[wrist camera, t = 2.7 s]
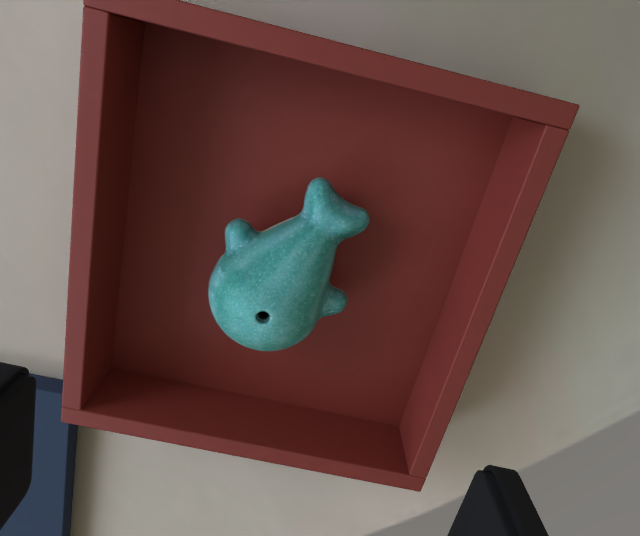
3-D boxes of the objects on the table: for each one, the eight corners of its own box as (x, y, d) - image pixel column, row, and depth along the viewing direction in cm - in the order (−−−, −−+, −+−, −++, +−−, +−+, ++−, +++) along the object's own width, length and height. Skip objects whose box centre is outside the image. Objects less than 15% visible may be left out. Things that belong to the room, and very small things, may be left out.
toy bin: (128, -8, 18) (83, -25, 15) (537, 99, 19) (580, 105, 16) (96, 374, 24) (60, 422, 21) (408, 437, 25) (420, 492, 22)
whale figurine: (185, 274, 22) (158, 315, 18) (291, 142, 19) (283, 158, 16) (291, 350, 23) (284, 401, 19) (400, 234, 21) (415, 268, 17)
